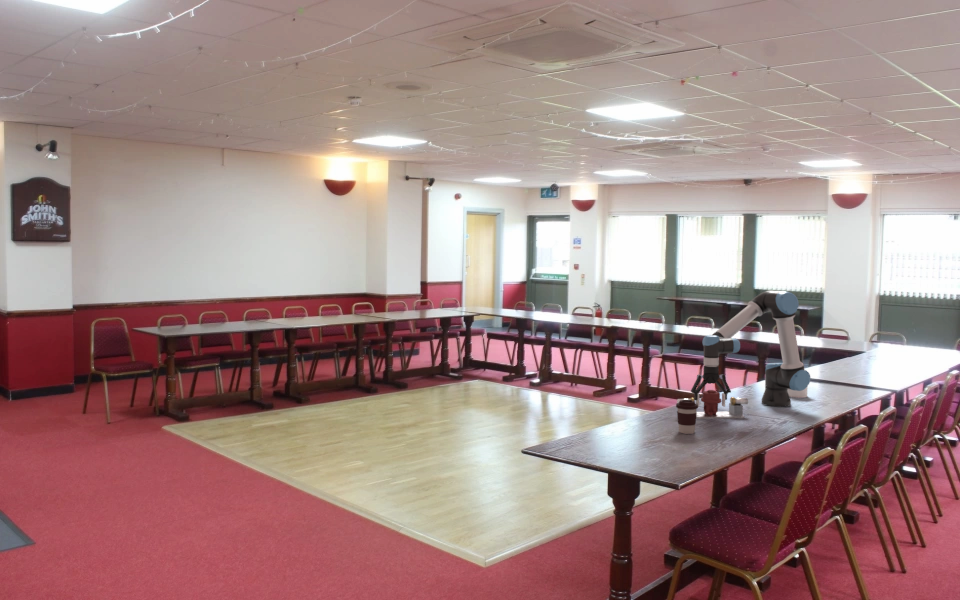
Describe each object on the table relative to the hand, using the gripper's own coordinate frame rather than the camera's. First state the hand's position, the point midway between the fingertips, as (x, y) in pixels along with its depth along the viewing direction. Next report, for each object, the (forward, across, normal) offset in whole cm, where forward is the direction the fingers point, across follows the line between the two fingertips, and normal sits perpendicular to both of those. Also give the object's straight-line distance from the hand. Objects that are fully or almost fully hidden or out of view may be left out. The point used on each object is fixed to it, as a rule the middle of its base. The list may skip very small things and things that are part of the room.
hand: (710, 406), depth 389 cm
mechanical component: (+4, 0, 0) cm, 4 cm away
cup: (+5, -68, -49) cm, 84 cm away
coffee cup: (+5, +22, +33) cm, 40 cm away
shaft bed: (+5, -1, 0) cm, 5 cm away
